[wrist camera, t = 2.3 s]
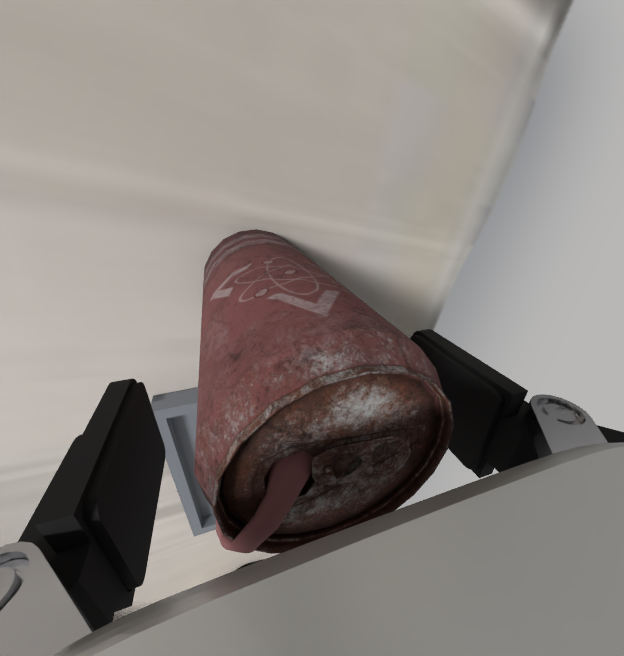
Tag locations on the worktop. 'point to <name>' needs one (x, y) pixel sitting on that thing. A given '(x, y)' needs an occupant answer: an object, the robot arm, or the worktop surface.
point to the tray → (183, 453)
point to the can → (305, 401)
